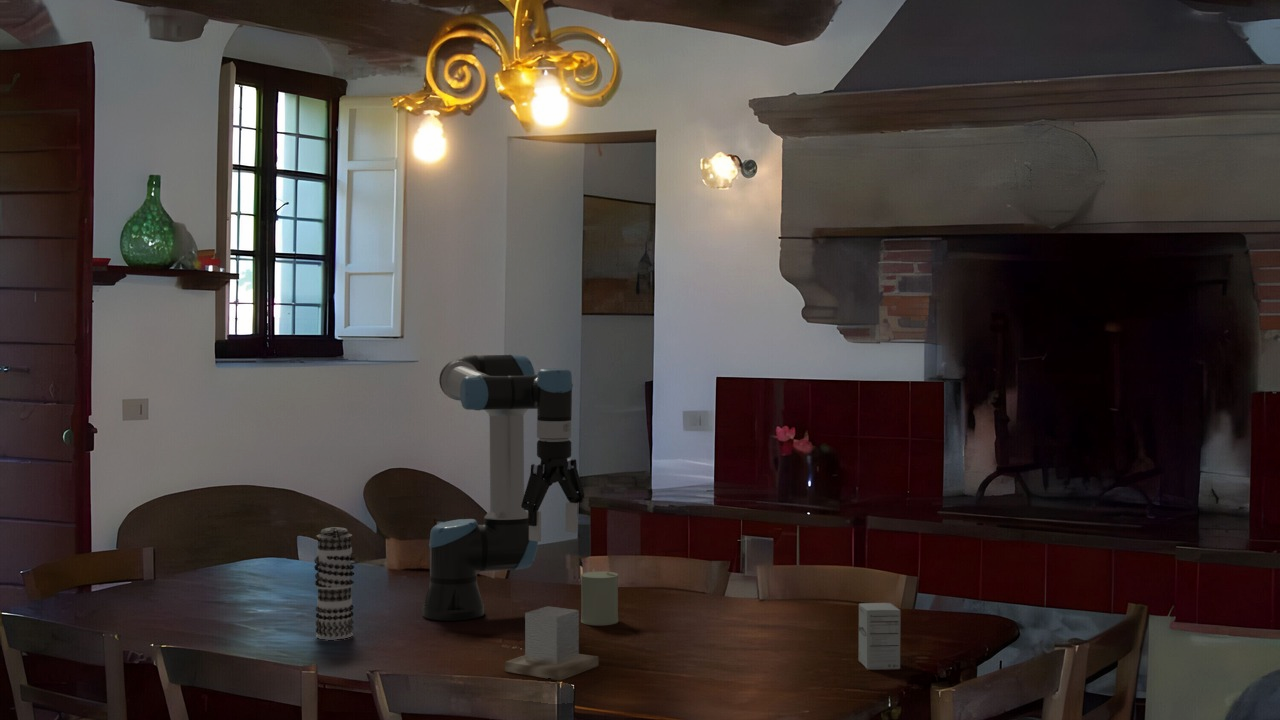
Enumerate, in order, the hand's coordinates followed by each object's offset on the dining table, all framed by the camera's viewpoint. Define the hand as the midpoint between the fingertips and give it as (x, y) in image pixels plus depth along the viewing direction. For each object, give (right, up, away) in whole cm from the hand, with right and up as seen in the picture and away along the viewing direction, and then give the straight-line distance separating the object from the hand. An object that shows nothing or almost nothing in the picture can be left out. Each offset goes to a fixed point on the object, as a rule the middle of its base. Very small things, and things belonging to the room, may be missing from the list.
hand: (553, 536), depth 293 cm
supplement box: (+70, -26, -10) cm, 75 cm away
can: (+9, -25, +33) cm, 43 cm away
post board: (+1, -26, -13) cm, 29 cm away
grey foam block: (+1, -24, -13) cm, 27 cm away
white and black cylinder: (-52, -26, +16) cm, 60 cm away
